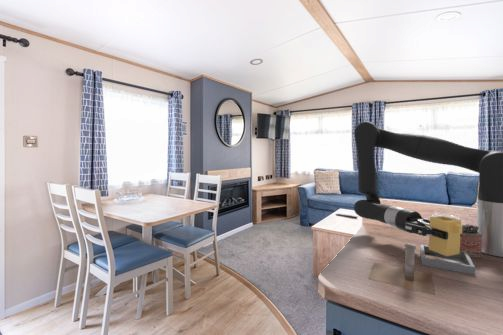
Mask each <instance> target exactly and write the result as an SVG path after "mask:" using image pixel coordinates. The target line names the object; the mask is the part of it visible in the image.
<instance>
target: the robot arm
mask: <svg viewBox="0 0 503 335" xmlns="http://www.w3.org/2000/svg"><path fill="white" fill-rule="evenodd" d="M353 135H354V140H355V145H356V150H357V151H356V153H357V163H358V164H357V168H358V169H357V172H358V173H357V174H358V175H357V177H358V180H357V182H358V183H357V184H358V186H357V190H358V192H359V194H362V195H364V196H365V198H366V199H359V200H357V201H355V203H354V205H353V210H354V212H355V214H356V215H357V216H359V217H360V218H363V219H367V220H372V221H378V222H380V223H383V224H385V225H389V226H390V227H392V228H395V229H398V230H400V231H403V232H405V233H408V234H415V235H419V236H423V237H427V236H436V237H439V238H442V239H448V232H446V231H443V230H439V229H436V228H434V229H433V227H430V218H427V217H426V218H425V217H424V218H423V217H422V215H421V214H420V213H419V212H418V211H417V210H416V211H415V210H412V209H407V208H404V207H401V206H394V205H391V204H390V205H389V204H385V203H381V199H380V197H379V193H378V189H377V185H378V184H377V183H378V182H377V181H378V180H377V178H378V176H377V169H376V168H377V167H376V163H375V152H374V150H375V148H378V149H379V148H381V149H385V150H389V151H392V152H396V153H397V154H399V155H402V156H403V155H404V156H405V157H410V158H413V159H416V160H420V161H425V162H429V163H433V164H439V165H445V166H446V165H448V166H455V167H459V168H464V169H466V170H469V171H473V172H476V173H478V174H479V176H478V177H479V178H478V179H479V180H478V192H477V211H476V226H479V229H478V232H482V233H483V236H482V246H481V253H482V254H483V253H484V254H485V255H486V254H487V255H489V256H495V257H500V258H503V151H501V150H500V151H498V150H497V151H496V150H486V149H481V148H480V149H479V148H473V147H467V146H464V145H461V144H458V143H455V142H453V141H449V140H446V139H443V138H439V137H435V136H430V135H426V134H420V133H405V132H394V131H390V130H386V129H384V128H380V127H378V126H377V125H375V124H374V123H373V122H370V121H363V122H360V123H359V124H357V126H356V127H355V129H354V131H353ZM460 237H462V234H460Z"/></svg>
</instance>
